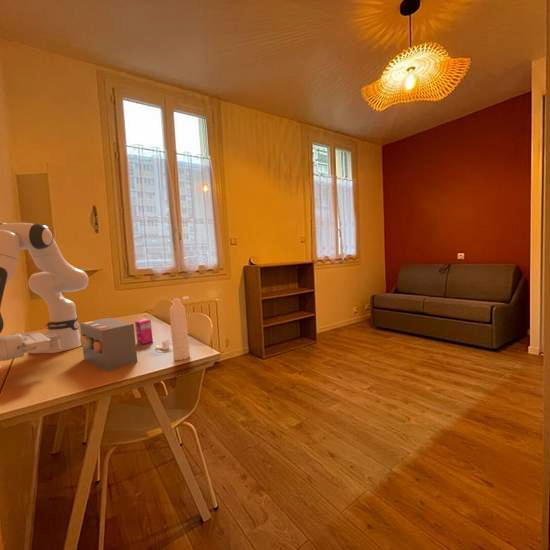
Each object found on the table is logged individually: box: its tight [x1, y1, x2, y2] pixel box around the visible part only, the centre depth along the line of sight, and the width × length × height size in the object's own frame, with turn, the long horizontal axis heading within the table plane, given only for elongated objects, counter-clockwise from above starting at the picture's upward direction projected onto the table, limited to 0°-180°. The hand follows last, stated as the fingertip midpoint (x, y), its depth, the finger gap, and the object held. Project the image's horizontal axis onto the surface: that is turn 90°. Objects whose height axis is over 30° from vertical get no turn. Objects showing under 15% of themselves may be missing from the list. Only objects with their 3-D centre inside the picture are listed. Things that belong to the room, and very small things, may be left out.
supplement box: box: [134, 318, 154, 346], centre depth 155 cm, size 6×6×12 cm
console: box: [79, 317, 138, 372], centre depth 130 cm, size 12×26×16 cm, turn 48°
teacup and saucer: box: [155, 340, 173, 353], centre depth 143 cm, size 9×8×4 cm
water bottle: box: [169, 296, 191, 361], centre depth 128 cm, size 9×6×25 cm
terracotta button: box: [93, 341, 101, 353], centre depth 120 cm, size 3×4×4 cm
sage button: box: [82, 339, 93, 350], centre depth 125 cm, size 3×4×4 cm
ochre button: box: [80, 336, 87, 345], centre depth 131 cm, size 3×4×4 cm
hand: (59, 336), depth 125 cm, fingers closed
